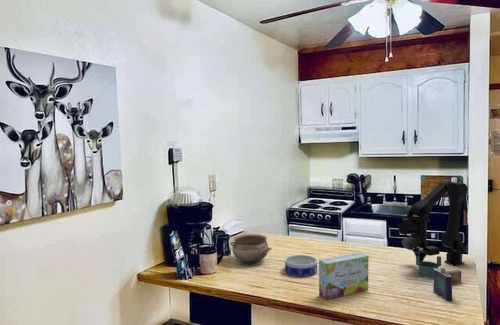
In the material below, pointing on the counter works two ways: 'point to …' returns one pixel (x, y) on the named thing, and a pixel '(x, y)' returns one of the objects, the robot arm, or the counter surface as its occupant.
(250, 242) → the cooking pot
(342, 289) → the snack box
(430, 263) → the bracket
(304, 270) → the dog bowl
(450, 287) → the flask
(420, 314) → the counter surface
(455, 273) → the stop rail
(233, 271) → the counter surface
